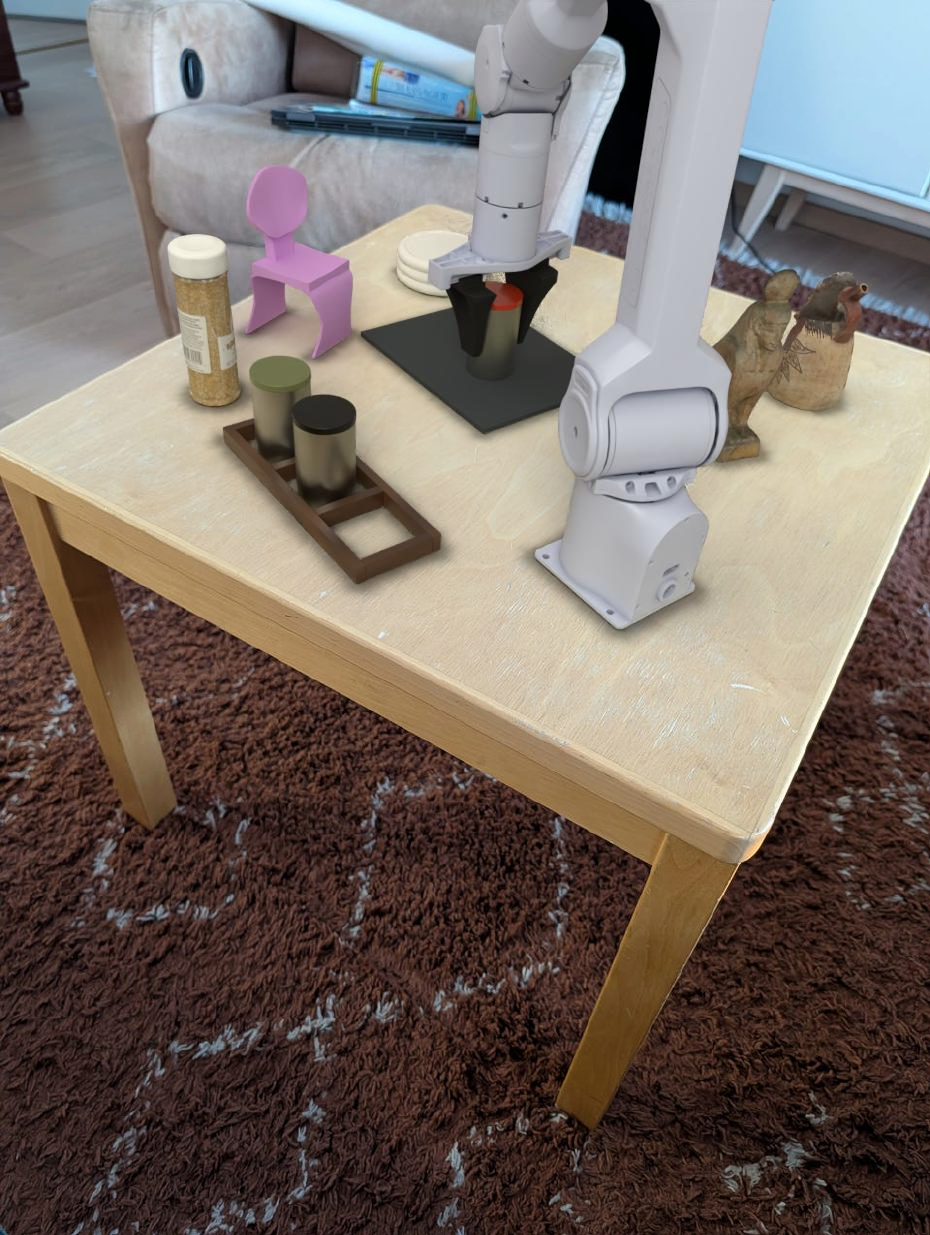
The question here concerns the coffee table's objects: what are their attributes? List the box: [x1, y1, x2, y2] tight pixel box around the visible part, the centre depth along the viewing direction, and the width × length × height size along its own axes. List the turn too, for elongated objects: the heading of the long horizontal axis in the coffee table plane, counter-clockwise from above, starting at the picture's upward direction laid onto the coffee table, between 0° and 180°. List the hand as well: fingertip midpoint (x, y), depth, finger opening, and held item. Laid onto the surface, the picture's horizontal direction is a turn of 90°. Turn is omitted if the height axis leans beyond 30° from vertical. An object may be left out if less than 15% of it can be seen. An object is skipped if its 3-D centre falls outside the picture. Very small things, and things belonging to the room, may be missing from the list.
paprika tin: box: [465, 281, 523, 380], centre depth 85 cm, size 5×5×8 cm
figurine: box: [766, 271, 869, 412], centre depth 86 cm, size 7×7×12 cm
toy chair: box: [244, 164, 354, 360], centre depth 85 cm, size 8×9×15 cm
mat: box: [360, 306, 577, 435], centre depth 90 cm, size 20×16×1 cm
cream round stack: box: [396, 229, 488, 297], centre depth 101 cm, size 10×10×4 cm
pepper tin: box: [292, 393, 357, 510], centre depth 70 cm, size 5×5×8 cm
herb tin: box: [248, 355, 312, 465], centre depth 74 cm, size 5×5×8 cm
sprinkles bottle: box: [167, 233, 242, 407], centre depth 77 cm, size 5×5×14 cm
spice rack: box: [222, 417, 442, 585], centre depth 72 cm, size 21×7×2 cm, turn 37°
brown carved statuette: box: [711, 268, 801, 463], centre depth 78 cm, size 12×6×18 cm, turn 16°
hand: (492, 345), depth 86 cm, fingers closed on paprika tin, 5 cm apart
